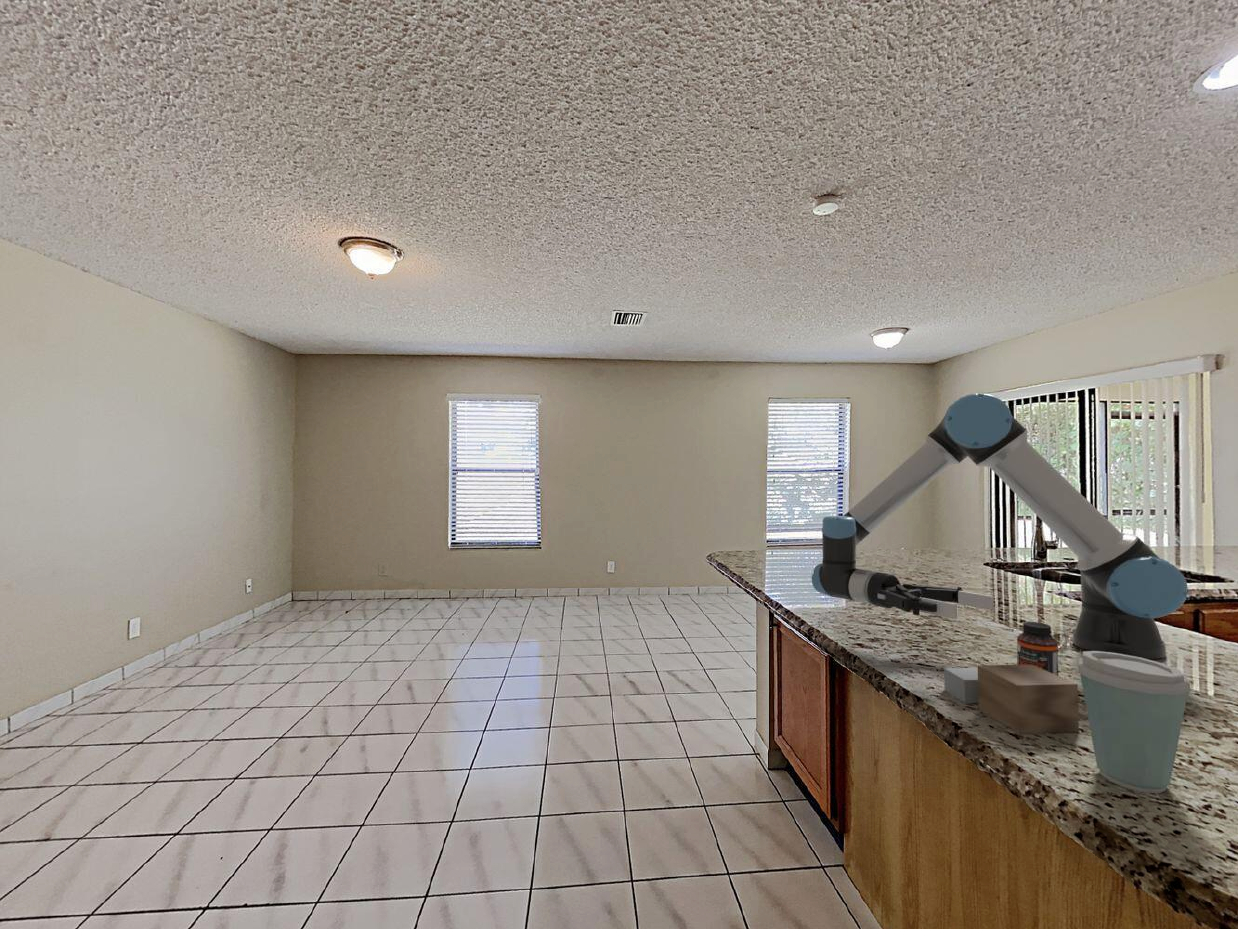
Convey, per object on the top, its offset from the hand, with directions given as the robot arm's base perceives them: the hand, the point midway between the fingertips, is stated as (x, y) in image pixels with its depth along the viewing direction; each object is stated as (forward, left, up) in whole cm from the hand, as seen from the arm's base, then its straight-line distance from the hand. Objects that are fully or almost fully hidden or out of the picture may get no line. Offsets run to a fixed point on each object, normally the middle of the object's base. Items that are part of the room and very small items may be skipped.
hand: (975, 607), depth 110 cm
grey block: (+9, +12, -13) cm, 19 cm away
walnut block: (+7, +22, -12) cm, 26 cm away
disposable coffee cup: (+7, +40, -13) cm, 42 cm away
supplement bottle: (-5, +9, -13) cm, 16 cm away
